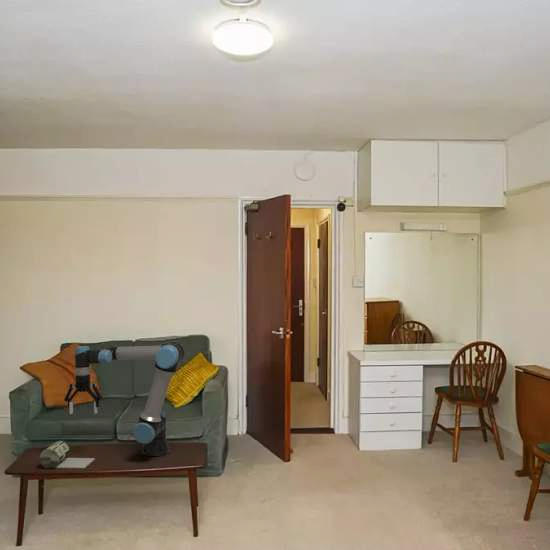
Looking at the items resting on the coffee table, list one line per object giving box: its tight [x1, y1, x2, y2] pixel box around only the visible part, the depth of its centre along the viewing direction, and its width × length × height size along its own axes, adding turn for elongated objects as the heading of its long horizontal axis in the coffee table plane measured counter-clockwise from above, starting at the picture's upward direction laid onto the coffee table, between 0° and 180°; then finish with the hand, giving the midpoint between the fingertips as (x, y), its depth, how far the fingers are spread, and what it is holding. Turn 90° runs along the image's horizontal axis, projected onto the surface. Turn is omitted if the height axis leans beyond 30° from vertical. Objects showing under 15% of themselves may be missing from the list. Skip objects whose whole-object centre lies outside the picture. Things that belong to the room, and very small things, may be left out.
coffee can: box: [39, 439, 71, 469], centre depth 278 cm, size 10×10×14 cm
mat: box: [53, 457, 96, 469], centre depth 280 cm, size 20×14×1 cm
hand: (83, 413), depth 287 cm, fingers open, 13 cm apart
